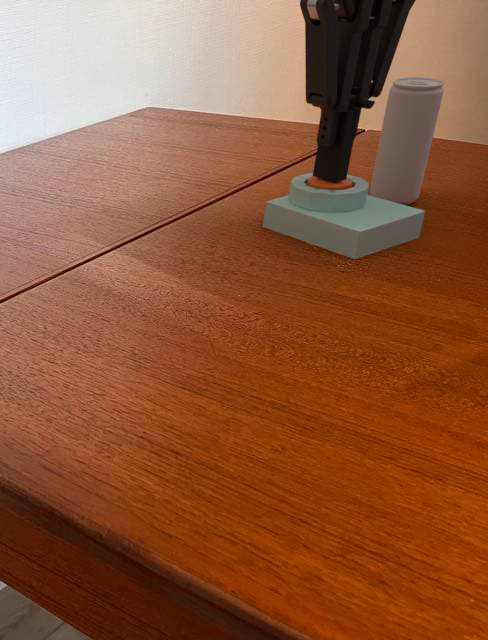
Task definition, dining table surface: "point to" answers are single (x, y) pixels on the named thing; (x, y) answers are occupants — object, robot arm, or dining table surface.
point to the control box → (342, 218)
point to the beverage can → (406, 139)
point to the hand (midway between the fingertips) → (329, 177)
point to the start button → (329, 184)
